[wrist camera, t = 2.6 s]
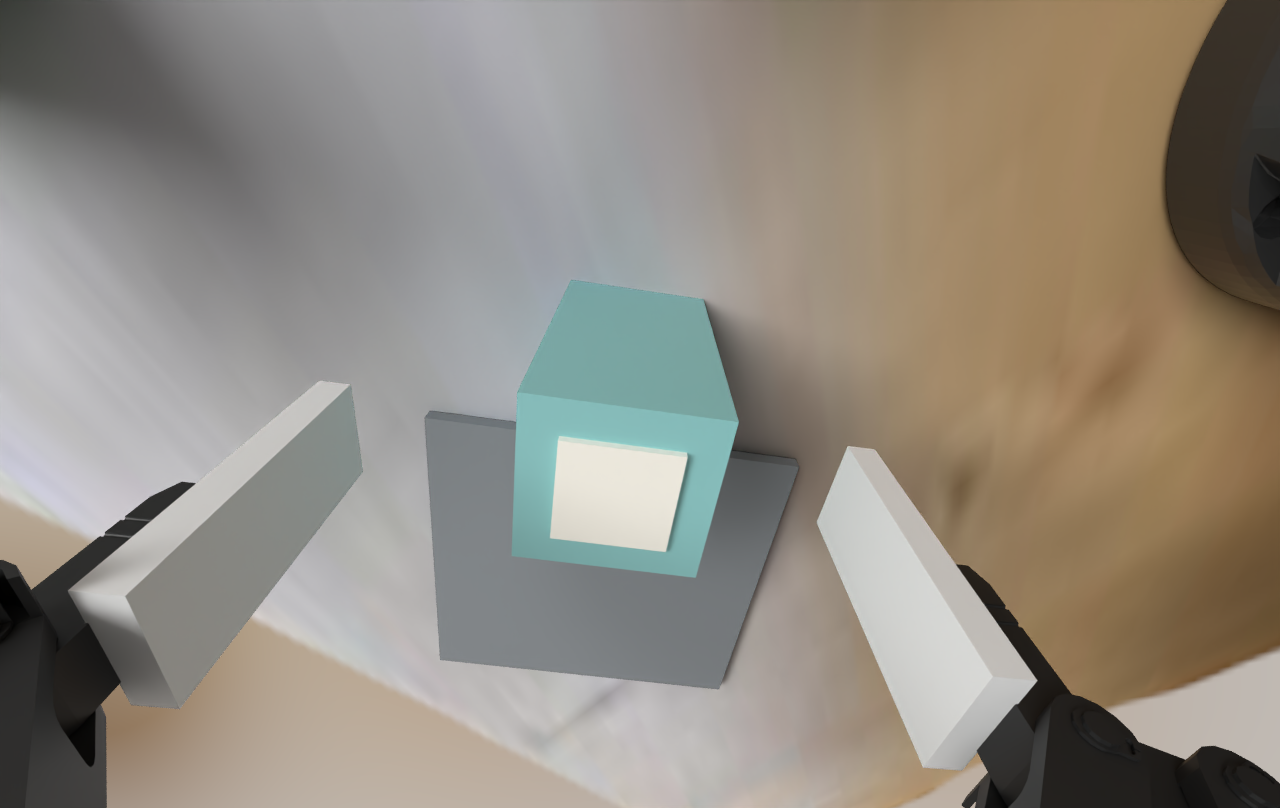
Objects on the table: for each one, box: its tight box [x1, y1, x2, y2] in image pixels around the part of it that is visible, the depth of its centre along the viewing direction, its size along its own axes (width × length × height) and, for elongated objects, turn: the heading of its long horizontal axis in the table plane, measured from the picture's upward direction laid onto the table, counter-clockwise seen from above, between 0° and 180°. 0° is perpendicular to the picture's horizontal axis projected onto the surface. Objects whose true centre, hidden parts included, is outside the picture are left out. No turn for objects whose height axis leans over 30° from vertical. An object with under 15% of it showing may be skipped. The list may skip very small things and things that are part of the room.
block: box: [512, 280, 739, 578], centre depth 17 cm, size 5×5×9 cm
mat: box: [425, 411, 799, 689], centre depth 26 cm, size 16×16×1 cm
